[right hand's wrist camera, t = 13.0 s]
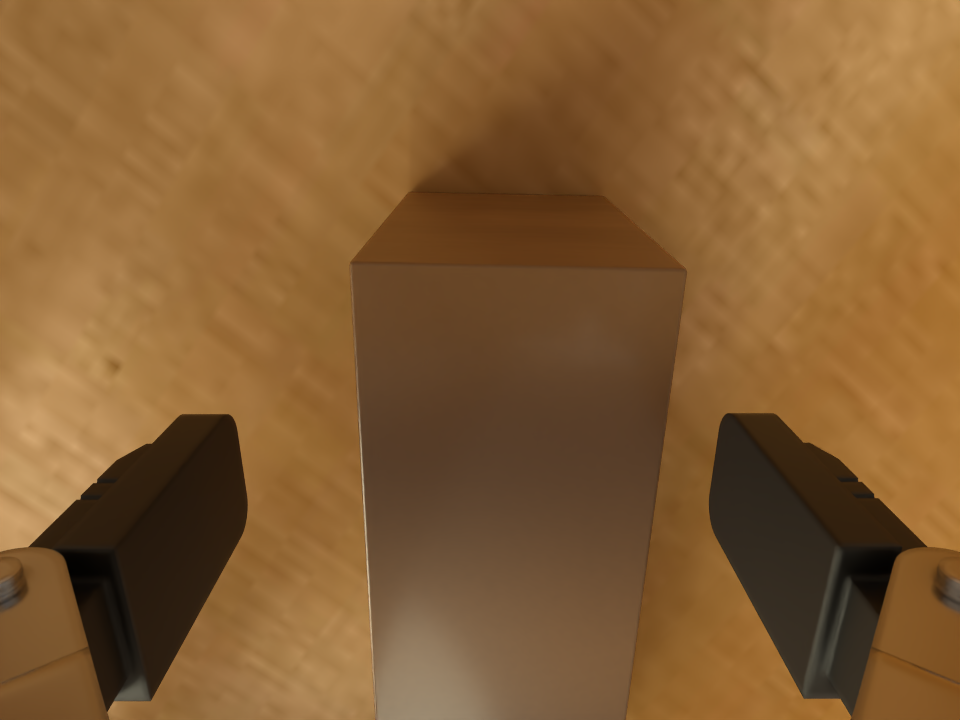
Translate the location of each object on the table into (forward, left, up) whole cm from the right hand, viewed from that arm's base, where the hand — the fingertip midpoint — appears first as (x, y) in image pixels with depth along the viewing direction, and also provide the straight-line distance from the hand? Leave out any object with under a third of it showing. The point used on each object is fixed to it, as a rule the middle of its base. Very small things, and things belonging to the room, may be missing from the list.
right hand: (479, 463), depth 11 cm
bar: (+5, -8, -10) cm, 14 cm away
